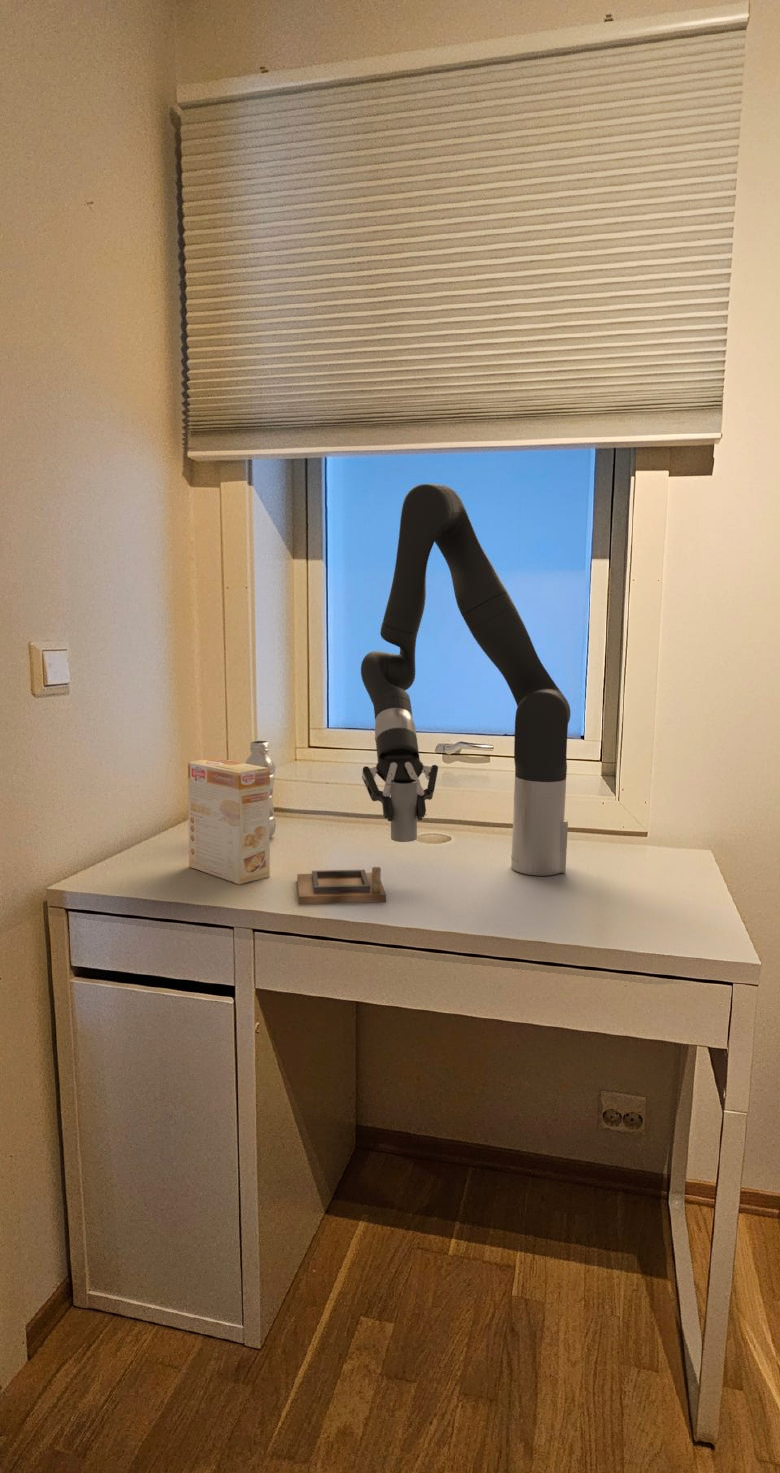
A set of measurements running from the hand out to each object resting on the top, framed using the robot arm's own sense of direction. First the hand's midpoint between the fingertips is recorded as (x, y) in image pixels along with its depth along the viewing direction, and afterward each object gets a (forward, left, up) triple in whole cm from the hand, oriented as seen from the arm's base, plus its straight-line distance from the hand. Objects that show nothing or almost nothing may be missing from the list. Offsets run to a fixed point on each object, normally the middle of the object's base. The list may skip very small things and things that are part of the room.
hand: (405, 818), depth 145 cm
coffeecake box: (+30, -9, -12) cm, 34 cm away
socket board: (+11, +3, -12) cm, 16 cm away
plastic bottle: (+25, -32, -12) cm, 42 cm away
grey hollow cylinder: (0, -2, -4) cm, 5 cm away
